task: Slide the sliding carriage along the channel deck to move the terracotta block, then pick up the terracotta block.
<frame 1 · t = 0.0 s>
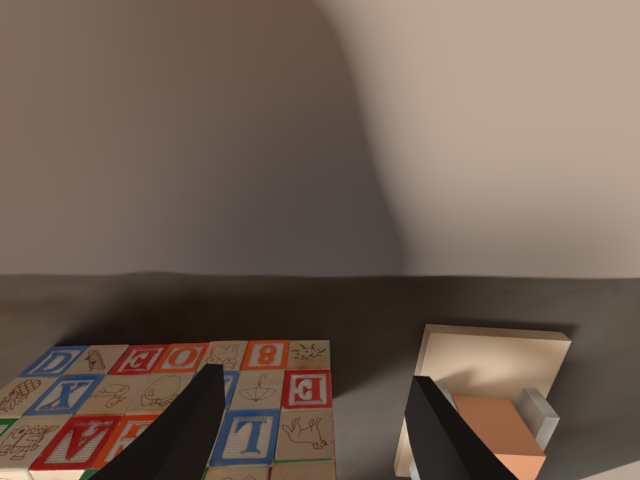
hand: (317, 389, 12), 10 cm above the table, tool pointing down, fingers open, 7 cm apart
channel deck: (468, 405, 26), on the table
stack of blocks: (199, 370, 25), on the table
terracotta block: (473, 417, 25), point 1 cm above the table, touching channel deck
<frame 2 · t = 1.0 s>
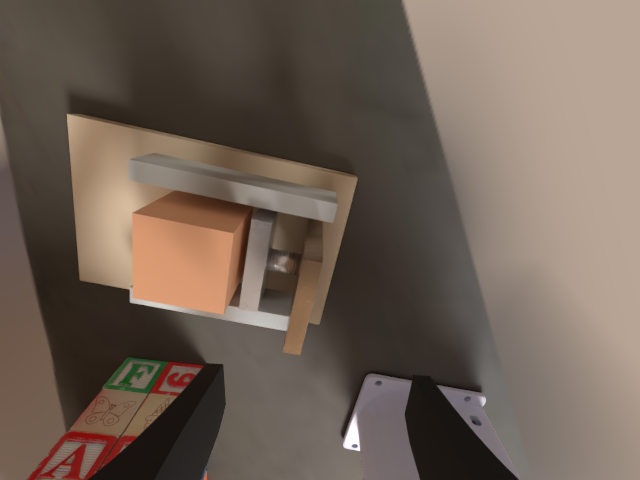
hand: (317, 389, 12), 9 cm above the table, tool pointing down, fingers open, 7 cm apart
channel deck: (214, 227, 20), on the table
stack of blocks: (174, 450, 28), on the table
terracotta block: (211, 233, 19), point 1 cm above the table, touching channel deck
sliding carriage: (278, 273, 16), point 4 cm above the table, slide at 0.0 cm
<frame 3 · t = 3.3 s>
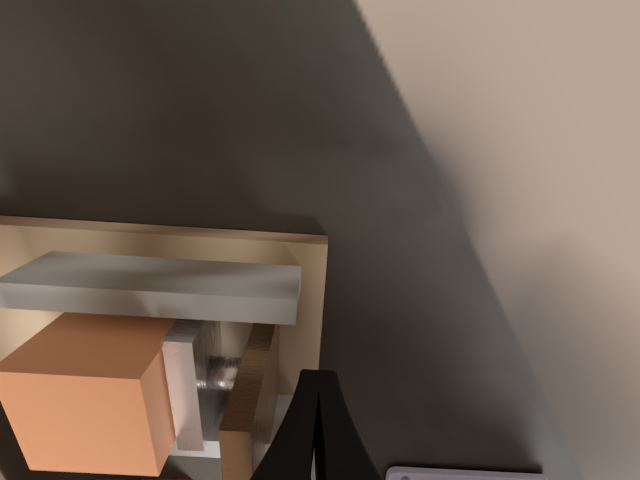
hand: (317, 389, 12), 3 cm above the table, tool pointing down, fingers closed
channel deck: (158, 323, 15), on the table
terracotta block: (150, 337, 14), point 1 cm above the table, touching channel deck
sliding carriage: (219, 403, 11), point 4 cm above the table, slide at 0.4 cm, touching gripper
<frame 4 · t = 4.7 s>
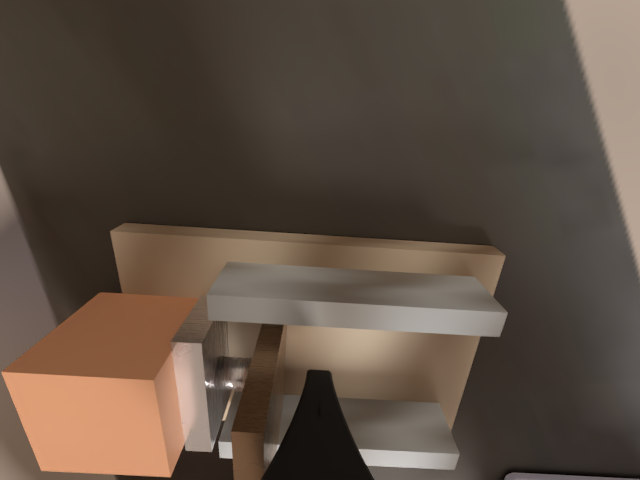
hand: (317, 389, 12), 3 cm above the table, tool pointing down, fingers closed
channel deck: (305, 331, 15), on the table
terracotta block: (159, 337, 14), point 1 cm above the table, touching channel deck, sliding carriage
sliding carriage: (228, 403, 11), point 4 cm above the table, slide at 7.1 cm, touching gripper, terracotta block
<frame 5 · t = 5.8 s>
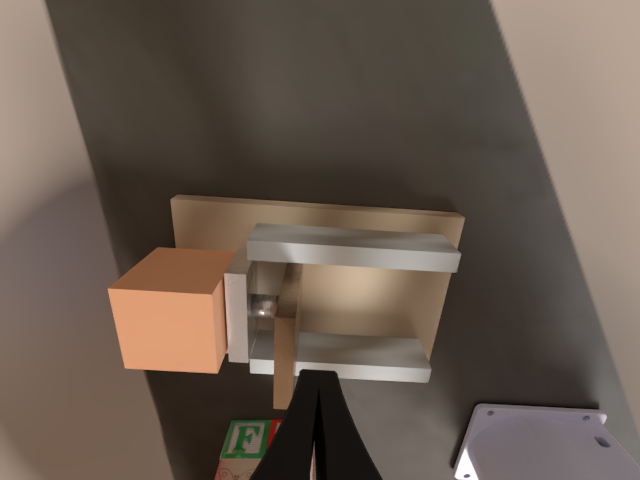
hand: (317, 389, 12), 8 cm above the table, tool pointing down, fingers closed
channel deck: (313, 282, 19), on the table
terracotta block: (200, 284, 18), point 1 cm above the table, touching channel deck
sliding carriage: (262, 322, 15), point 4 cm above the table, slide at 7.0 cm
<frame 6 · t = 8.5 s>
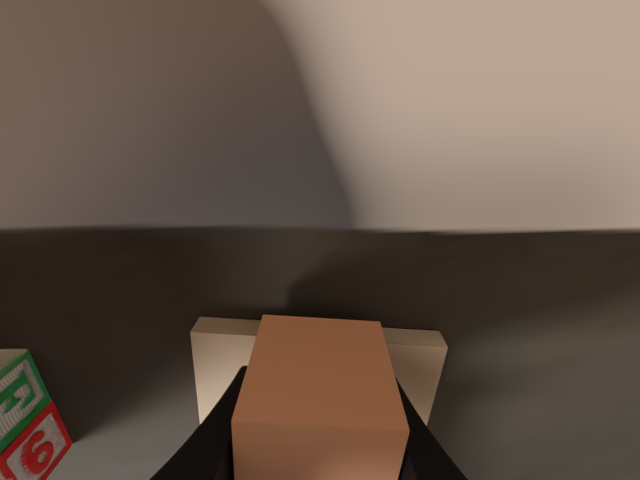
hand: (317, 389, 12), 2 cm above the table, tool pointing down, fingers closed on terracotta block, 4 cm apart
channel deck: (310, 449, 16), on the table
terracotta block: (317, 363, 13), point 1 cm above the table, touching channel deck, gripper
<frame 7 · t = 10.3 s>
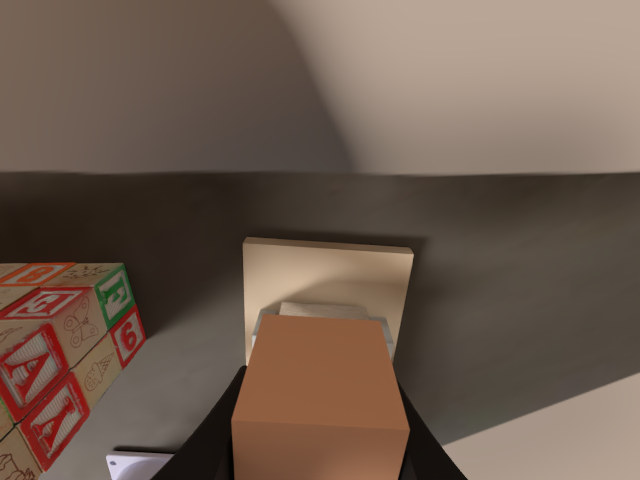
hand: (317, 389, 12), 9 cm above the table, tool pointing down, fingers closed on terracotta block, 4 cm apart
channel deck: (320, 343, 22), on the table
terracotta block: (318, 363, 13), point 8 cm above the table, touching gripper
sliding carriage: (322, 360, 17), point 4 cm above the table, slide at 7.0 cm
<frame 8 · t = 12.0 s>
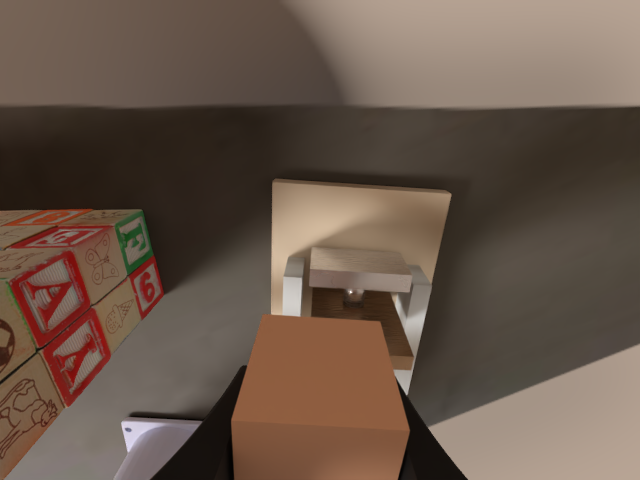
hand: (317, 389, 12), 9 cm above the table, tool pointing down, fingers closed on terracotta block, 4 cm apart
channel deck: (347, 297, 21), on the table
terracotta block: (317, 363, 13), point 8 cm above the table, touching gripper
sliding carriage: (357, 301, 17), point 4 cm above the table, slide at 7.0 cm
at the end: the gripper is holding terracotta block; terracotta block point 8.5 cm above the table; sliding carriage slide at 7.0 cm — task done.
